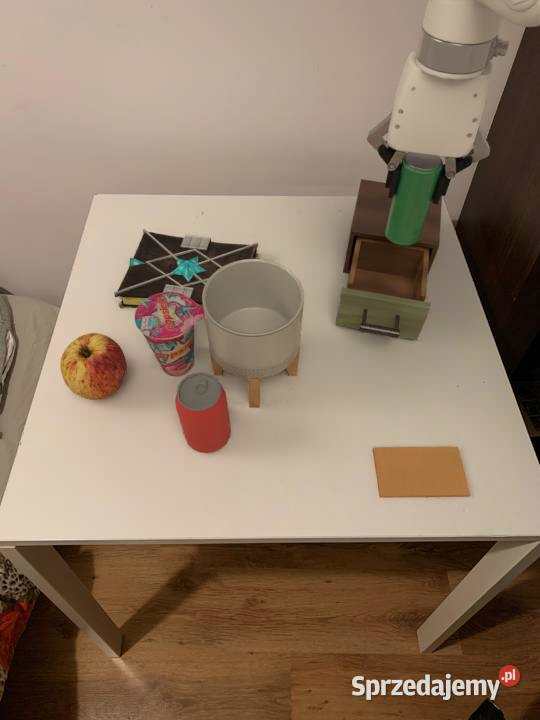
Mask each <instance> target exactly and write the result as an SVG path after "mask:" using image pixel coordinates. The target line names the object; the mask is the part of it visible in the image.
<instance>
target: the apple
mask: <svg viewBox="0 0 540 720" xmlns="http://www.w3.org/2000/svg"><path fill="white" fill-rule="evenodd" d="M127 366H128V365H127V359H126V355H125V353H124V351H123V349H122V347H121V346H120V345H119V344H118V342H117V341H116V340H115V339H113V338H111V337H109V336H108V335H105V334H102V333H98V332H89V333H86V334H83V335H80V336H78V337H76V338H75V339H74V340H72V341H71V342H70V343H69V344H68V345H67V346H66V348H65V349H64V350H63V352H62V356H61V358H60V366H59V367H60V373H61V376H62V379H63V381H64V384H65V385H66V386H67V388H68V389H69V391H70V392H72V393H73V394H75V395H76V396H79V397H81V398H83V399H88V400H101V399H104V398H108V397H110V396H111V395H113V394H114V393H115V392H117V391H118V390H119V389H120V387H121V385H122V383H123V381H124V380H125V377H126V374H127Z"/></svg>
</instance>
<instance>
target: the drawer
mask: <svg viewBox="0 0 540 720" xmlns="http://www.w3.org/2000/svg"><path fill="white" fill-rule="evenodd" d="M428 263H429V248H425V247H419V246H413V245H398V244H395V243H393V242H388V241H382V240H376V239H369V238H363V237H357V240H356V245H355V250H354V255H353V260H352V265H351V270H350V274H349V275H348V282H347V285H346V287H342V289H341V295H340V298H339V304H338V310H337V315H336V319H335V326H340V327H346V328H351V329H354V330H355V329H356V330H358V332H361V333H366V334H371V335H376V336H380V337H381V336H382V337H387V338H393V339H400V338H404V339H410V340H416V341H418V339H419V337H420V334H421V332H422V330H423V327H424V325H425V323H426V320H427V318H428V315H429V313H430V310H431V307H432V305H431V304H432V303H431V302H428V301H425V300H426V298H427V290H428V277H429V274H428Z"/></svg>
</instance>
